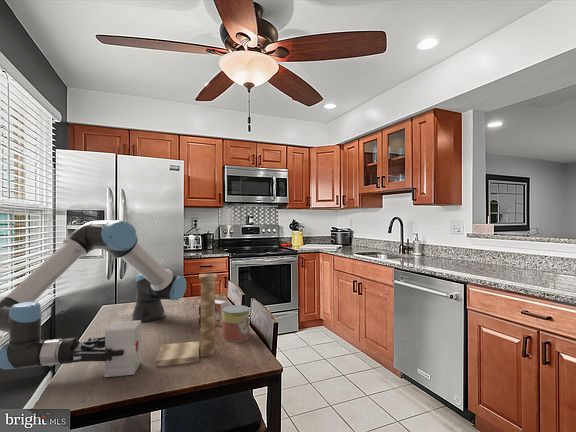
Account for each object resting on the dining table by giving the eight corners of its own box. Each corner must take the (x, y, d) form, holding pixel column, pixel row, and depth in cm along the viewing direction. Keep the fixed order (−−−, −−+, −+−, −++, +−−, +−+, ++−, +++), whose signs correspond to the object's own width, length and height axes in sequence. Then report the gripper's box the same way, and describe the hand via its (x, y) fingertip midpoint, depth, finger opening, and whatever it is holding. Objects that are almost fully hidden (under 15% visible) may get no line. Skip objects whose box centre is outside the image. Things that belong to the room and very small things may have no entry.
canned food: (236, 344, 126) (237, 314, 127) (216, 338, 132) (216, 309, 132) (254, 335, 136) (254, 307, 136) (234, 330, 142) (234, 303, 142)
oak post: (198, 357, 114) (199, 276, 114) (198, 350, 120) (199, 273, 121) (216, 355, 116) (217, 276, 116) (215, 348, 122) (216, 273, 122)
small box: (206, 324, 150) (206, 301, 150) (213, 320, 156) (213, 299, 156) (220, 326, 147) (220, 303, 147) (227, 322, 153) (227, 300, 153)
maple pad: (156, 366, 107) (156, 360, 107) (161, 349, 120) (161, 344, 120) (198, 361, 111) (198, 356, 111) (199, 346, 124) (199, 341, 124)
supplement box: (134, 375, 101) (134, 328, 101) (103, 378, 99) (104, 330, 99) (141, 362, 110) (141, 319, 110) (113, 364, 108) (113, 321, 108)
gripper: (75, 349, 110) (144, 342, 116) (44, 380, 89) (131, 370, 95) (75, 327, 110) (144, 322, 116) (44, 353, 89) (131, 345, 95)
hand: (138, 344), depth 105 cm, fingers closed on supplement box, 9 cm apart
